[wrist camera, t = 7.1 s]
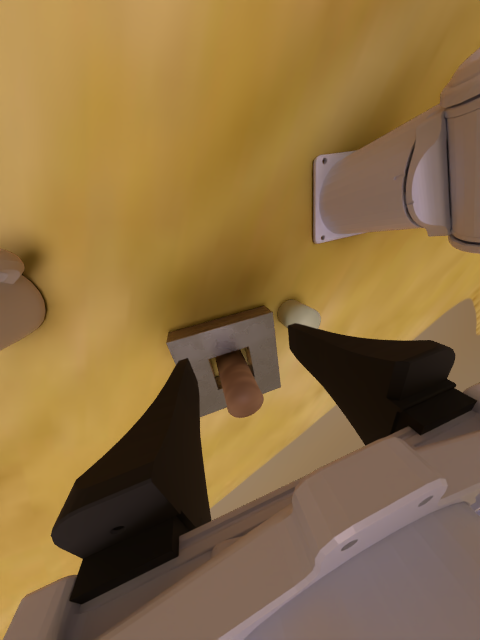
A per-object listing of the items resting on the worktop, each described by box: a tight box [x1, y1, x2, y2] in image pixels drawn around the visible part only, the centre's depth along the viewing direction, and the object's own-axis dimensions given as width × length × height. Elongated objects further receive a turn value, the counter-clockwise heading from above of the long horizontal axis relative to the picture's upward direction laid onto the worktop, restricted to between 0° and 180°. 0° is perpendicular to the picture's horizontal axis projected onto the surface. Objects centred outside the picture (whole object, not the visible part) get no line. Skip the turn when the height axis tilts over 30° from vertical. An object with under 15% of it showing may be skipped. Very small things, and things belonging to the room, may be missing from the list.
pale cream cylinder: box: [277, 300, 321, 329], centre depth 22 cm, size 4×4×4 cm
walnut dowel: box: [216, 349, 263, 418], centre depth 20 cm, size 4×4×8 cm
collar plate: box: [166, 306, 281, 417], centre depth 23 cm, size 12×12×2 cm
